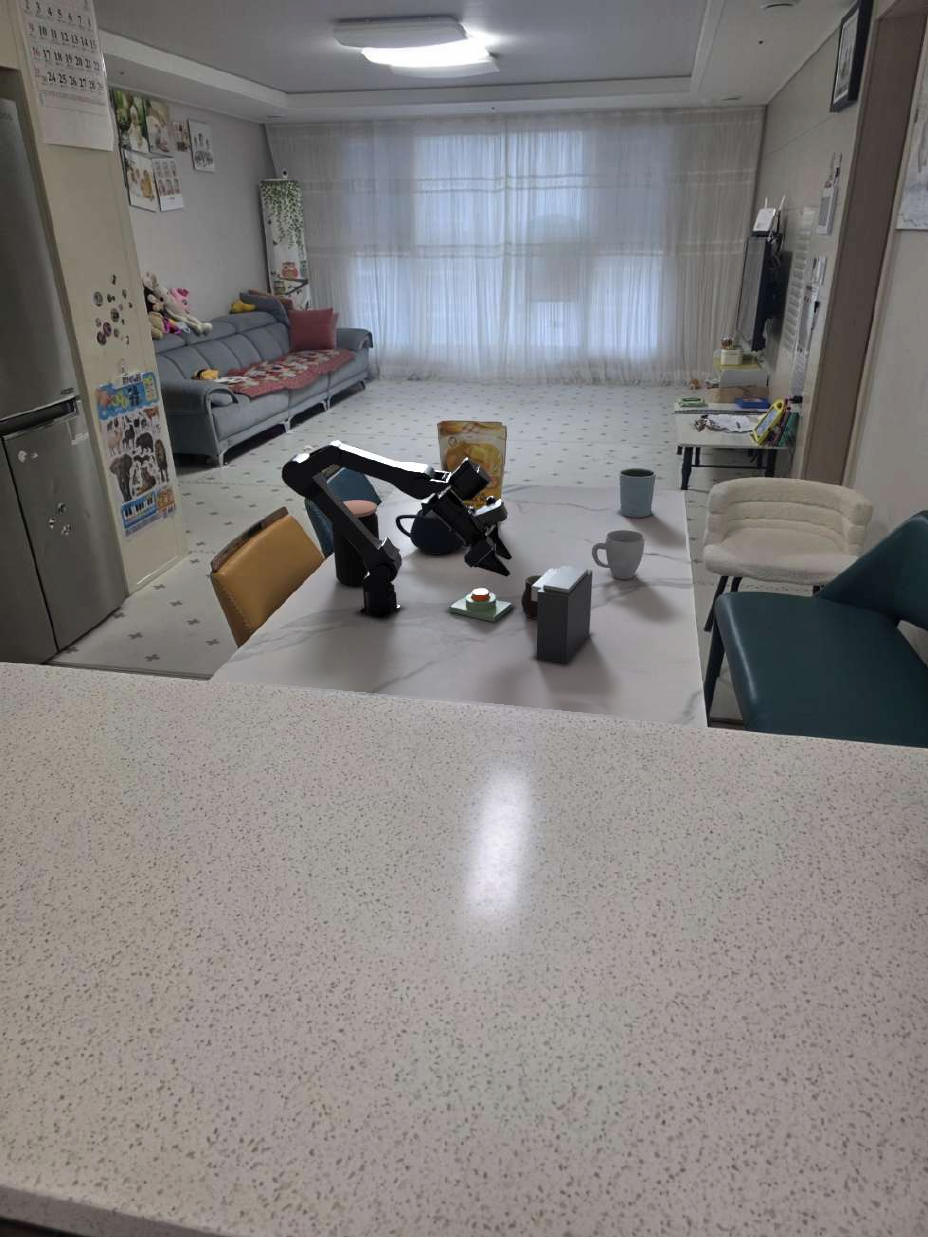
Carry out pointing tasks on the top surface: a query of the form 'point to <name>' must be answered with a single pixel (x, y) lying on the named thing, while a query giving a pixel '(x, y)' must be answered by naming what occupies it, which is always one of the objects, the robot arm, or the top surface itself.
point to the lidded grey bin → (562, 612)
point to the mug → (621, 552)
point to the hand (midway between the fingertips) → (509, 566)
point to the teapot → (431, 534)
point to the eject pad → (481, 607)
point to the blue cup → (636, 491)
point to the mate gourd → (529, 597)
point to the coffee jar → (345, 553)
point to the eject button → (480, 595)
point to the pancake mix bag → (475, 452)
